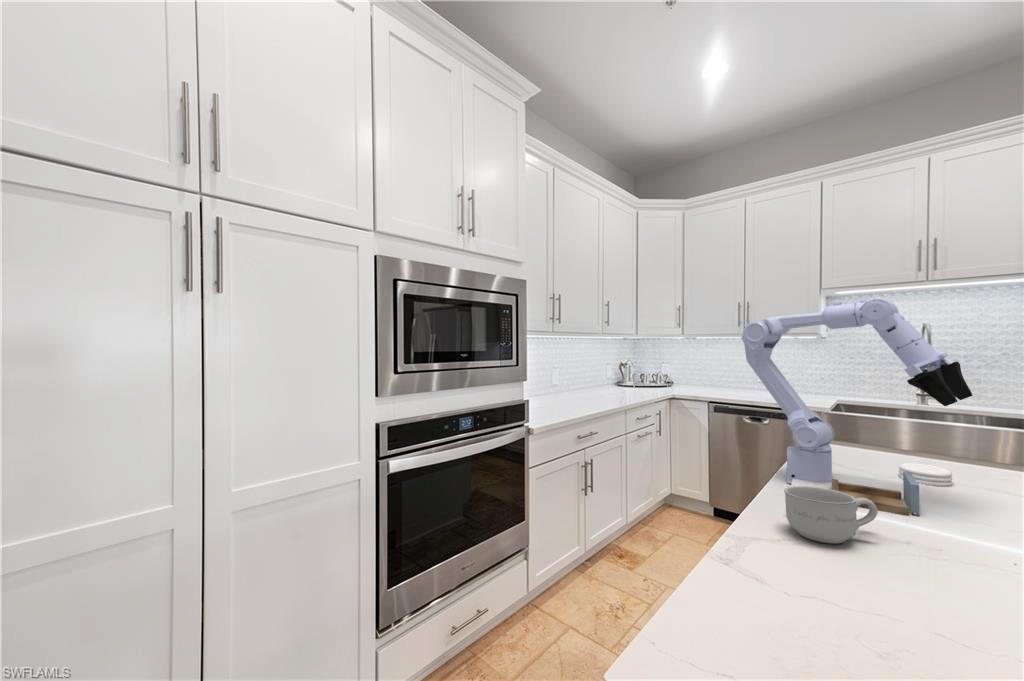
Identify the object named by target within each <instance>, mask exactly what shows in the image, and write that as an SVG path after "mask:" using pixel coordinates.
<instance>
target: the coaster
mask: <svg viewBox="0 0 1024 681" xmlns="http://www.w3.org/2000/svg"><path fill="white" fill-rule="evenodd" d="M903 472H906V473H911V474H912V476H913V477H914V479H915V480H916V481H917V483H921V484H920V485H923V484H925V485H924V486H929V485H932V486H931V487H939V486H940V487H942V488H943V487H944V488H945V487H951V486H953V477H952V476H953V473H952V472H951V470H949V469H946V468H944V467H940V466H935V465H931V464H930V465H929V464H923V463H917V462H905V463H903V462H902V463H899V465H898V477H899V476H900V477H902V478H903ZM900 477H899V478H900ZM902 478H901V479H902Z"/></svg>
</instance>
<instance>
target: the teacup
mask: <svg viewBox="0 0 1024 681" xmlns="http://www.w3.org/2000/svg"><path fill="white" fill-rule="evenodd" d="M783 491H784V496H785V497H784V498H785V499H784V501H785V512H786V520H787V522H788V523H789V525H790V526H791V527H792V528H793V529H794V530H795V531H797V533H798V534H800V536H802V537H804V538H806V539H809V540H811V541H814V542H818V543H819V542H820V543H825V544H841V543H845V542H846V541H847V540H849V539H852V538H853V537H854V536H855V534H856V531H857V530H858V529H859V528H860V527H862V526H864V525H867V524H869V523H871V522H872V521H874V520H875V519H876V517H877V516H878V511H877V508H876V506H875V504H874V503H873V502H872V501H870V500H868V499H866V498H857V499H855V498H854V497H853V496H851V495H849V494H846V493H843V492H840V491H836V490H832V488H831V489H829V488H825V487H824V488H823V487H817V486H807V485H806V486H805V485H798V486H797V485H796V486H795V485H793V486H788V487H785V488H784V490H783ZM861 504H867V505H868V507H869V509H868V510H869V511H868V513H867V514H866V515H864V516H862V517H861V518H858V519H857V512H858V508H859V507H858V506H860V505H861Z"/></svg>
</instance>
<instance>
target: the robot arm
mask: <svg viewBox="0 0 1024 681" xmlns="http://www.w3.org/2000/svg"><path fill="white" fill-rule="evenodd" d="M822 325H824V326H826V327H827V328H828V329H830V330H835V329H837V330H838V329H848V328H849V329H850V328H858V327H859V328H860V327H865V326H866V325H870V326H872V328H873V329H874V330H875V332H877V334H878V336H879V337H880V338H881V339H882V341H884V342H885V344H886V345H887V346H888V347H889V348H890V349H891V350H892V352H893V353H894V354H895V356H897V357H898V359H899V360H900V361H901V362H902V363H903V364H904V365H905V367H906V368H904V369H903V370H904V371H905V372H906V374H907V375H908V376H909V377H910V379H907V380H906V382H907V383H908V385H910V386H913V387H915V388H918V389H919V390H921V391H922V392H923V393H924V392H925V394H927V395H929V396H930V397H931V398H933V399H934V400H935V401H937V403H939V404H941V405H942V406H943V407H948V406H950V405H952V404H955V403H958V401H962V400H965V399H968V398H970V397H972V396H974V395H973V393H972V391H971V389H970V387H969V385H968V384H967V382H966V380H965V378H964V376H963V374H962V369H961V368H962V367H961V364H960V362H959V361H953V362H950V361H949V360H948V359H947V358H946V357H948V356H949V353H948V352H943V353H938V351H937V350H936V349H935V348H934V347H933V346H932V345H931V344H930V343H929V342H928V341H927V340H926V339H925V337H924V336H923V335H922V334H921V333H920V332H919V331H918V330H917V329H916V328H915V326H913V325H912V324H911V322H910V321H908V320H907V319H905V316H903V315H902V314H901V313H899V309H898V307H897V305H896V304H895V303H893V302H891V301H888V300H885V299H881V298H876V299H875V298H874V299H870V300H868V301H867V300H866V299H860V300H859V302H850V303H843V304H842V302H840V301H839V302H837V301H836V302H833V305H829V306H826V308H824V310H822V311H821V312H811V313H800V314H799V313H798V314H789V315H778V316H773V317H768V318H763V319H761V320H753V321H751V322H748V323H747V324H746V325H745V327H744V329H743V331H742V334H741V340H742V342H743V344H744V350H745V351H744V353H745V359H746V362H747V363H748V365H749V366H750V368H751V370H753V372H754V374H756V376H757V378H758V379H759V380H760V382H761V383H762V384H763V385H764V387H765V388H766V390H767V391H768V393H769V394H770V395H771V396H772V398H773V399H774V401H775V402H776V404H778V406H779V407H780V409H781V410H782V412H783V413H784V415H785V416H786V417H787V425H788V427H789V429H790V430H791V433H792V439H793V441H794V442H795V444H796V446H793V445H792V446H791V445H788V446H787V448H786V467H785V474H786V479H787V480H786V483H787V484H790V485H792V483H793V479H796V480H801V481H807V482H811V483H819V484H828V483H829V484H831V483H832V479H833V472H832V470H833V468H832V467H833V457H832V456H833V454H832V450H833V449H832V447H831V445H830V443H832V442H833V441H834V438H835V435H836V434H835V430H834V428H833V426H832V425H831V424H830V423H829V422H827V421H825V420H823V419H821V417H820V416H819V414H817V413H816V412H815V411H814V410H812V409H810V408H809V407H808V406H807V404H805V402H804V400H803V399H802V397H800V395H799V394H798V393H797V391H796V390H795V388H793V386H792V385H791V383H790V382H789V381H788V380H787V378H786V377H785V375H784V374H783V373H782V372H781V371H780V369H779V368H778V367H777V365H776V364H775V363H774V361H773V360H772V358H771V355H772V353H773V350H774V349H775V347H776V345H777V344H778V343H779V341H780V340H781V338H782V335H787V334H788V332H790V331H791V330H792V329H798V328H806V327H807V328H809V327H814V326H822Z"/></svg>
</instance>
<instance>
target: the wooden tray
mask: <svg viewBox="0 0 1024 681" xmlns="http://www.w3.org/2000/svg"><path fill="white" fill-rule="evenodd" d="M831 490H836V491H840V492H843V493H846V494H849V495H851V496H853V497H854V498H855V499H857V498H866V499H868V500H870V501H872V502H873V503H874V504H875V506H876V508H877V512H885V513H889V514H890V513H891V514H894V515H901V516H907V517H910V512H909V507H908V506H906V505H904V504H905V503H904V501H902V492H901V491H900V490H895V489H886V488H880V487H875V486H868V485H862V484H854V483H850V482H849V483H847V482H842V481H841V482H840V481H839V479H834V478H832V482H831ZM858 508H861V509H866V510H869V507H868V505H867V504H861V505H860V506H858Z"/></svg>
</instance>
